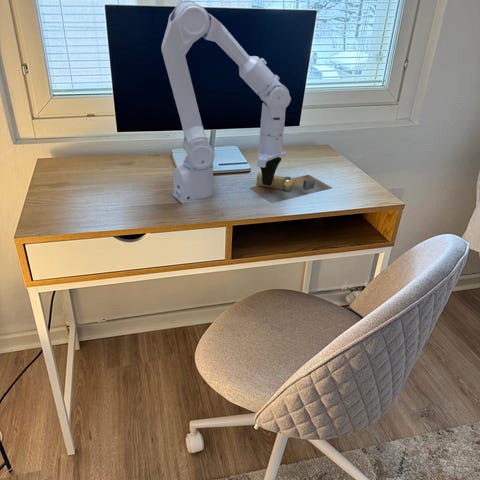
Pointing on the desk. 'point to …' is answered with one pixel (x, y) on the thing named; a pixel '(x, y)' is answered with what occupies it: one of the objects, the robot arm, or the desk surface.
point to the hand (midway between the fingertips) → (267, 184)
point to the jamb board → (297, 190)
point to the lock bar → (277, 182)
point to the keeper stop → (309, 183)
